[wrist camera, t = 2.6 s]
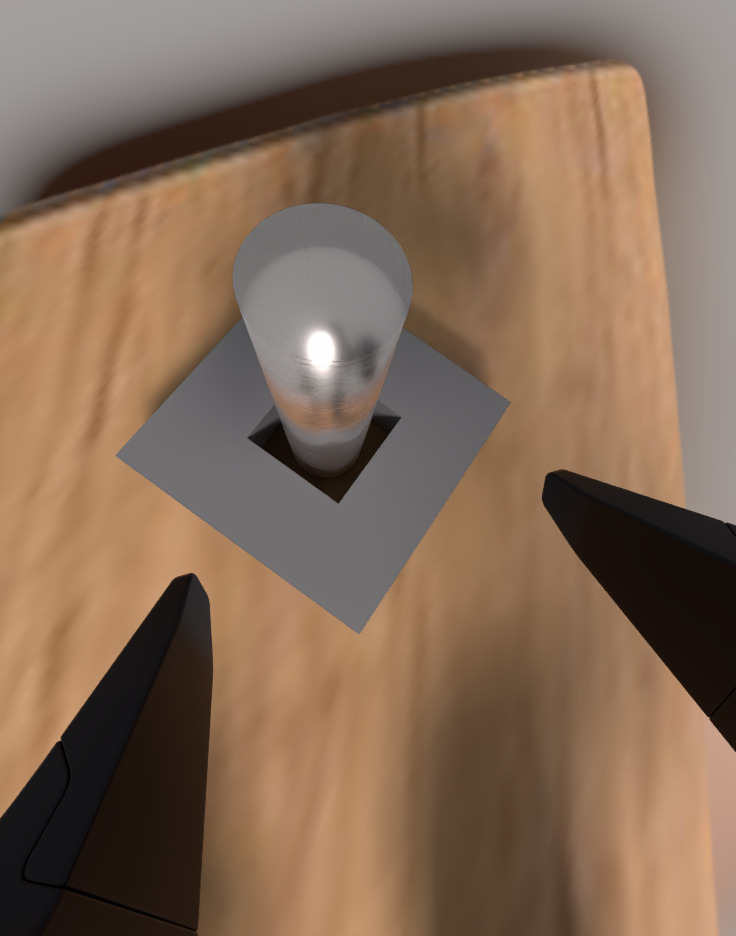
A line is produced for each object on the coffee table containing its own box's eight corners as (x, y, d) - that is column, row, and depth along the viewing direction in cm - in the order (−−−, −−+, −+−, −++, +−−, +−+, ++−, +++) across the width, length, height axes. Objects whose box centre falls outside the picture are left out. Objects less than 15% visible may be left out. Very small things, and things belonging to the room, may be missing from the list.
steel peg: (374, 436, 23) (445, 268, 9) (334, 491, 22) (344, 396, 8) (319, 397, 23) (306, 173, 9) (276, 449, 22) (193, 289, 8)
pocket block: (488, 420, 24) (510, 402, 21) (354, 622, 21) (359, 634, 18) (302, 290, 24) (299, 255, 21) (144, 468, 21) (115, 455, 18)
